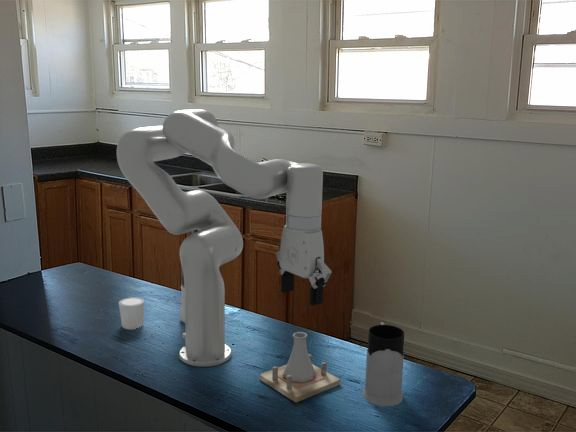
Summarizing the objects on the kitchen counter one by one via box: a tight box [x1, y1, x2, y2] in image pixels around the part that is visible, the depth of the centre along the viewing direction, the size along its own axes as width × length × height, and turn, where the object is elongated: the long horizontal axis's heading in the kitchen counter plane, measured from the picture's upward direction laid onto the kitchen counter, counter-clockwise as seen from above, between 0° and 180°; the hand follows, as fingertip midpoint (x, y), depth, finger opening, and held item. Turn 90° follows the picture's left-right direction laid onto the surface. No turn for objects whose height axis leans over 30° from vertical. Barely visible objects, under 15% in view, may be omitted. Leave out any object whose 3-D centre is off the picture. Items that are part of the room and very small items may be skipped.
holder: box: [362, 322, 405, 407], centre depth 134 cm, size 9×14×15 cm, turn 177°
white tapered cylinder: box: [118, 296, 146, 330], centre depth 167 cm, size 7×7×7 cm
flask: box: [282, 331, 316, 383], centre depth 138 cm, size 7×7×10 cm
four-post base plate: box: [258, 353, 341, 403], centre depth 138 cm, size 13×13×4 cm
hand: (301, 297), depth 134 cm, fingers open, 9 cm apart
